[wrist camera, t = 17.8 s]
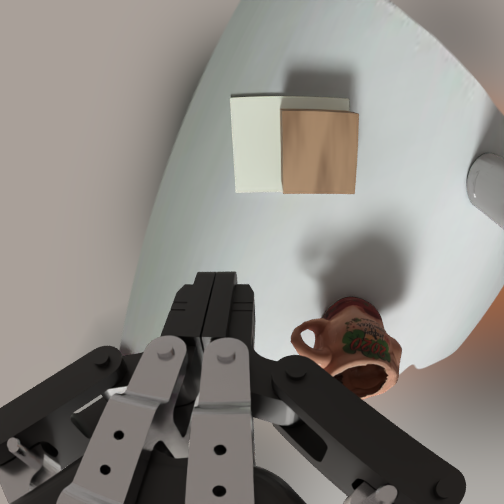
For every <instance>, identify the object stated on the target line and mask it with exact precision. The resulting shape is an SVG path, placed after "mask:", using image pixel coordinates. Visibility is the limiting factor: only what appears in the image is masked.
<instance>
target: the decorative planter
mask: <svg viewBox="0 0 504 504" xmlns="http://www.w3.org/2000/svg"><path fill="white" fill-rule="evenodd" d="M306 329H309V330H311V331H313V332H314V334H315V344H314V348H311V347H309V346H308V345H307V344H306V343H304V341H303V340H302V337H301V332H302V331H304V330H306ZM291 343H292V344H293V346H294V347H295V349H296V351H297V352H298V354H299V355H301V356H305V357H308V358H310V359H312V360H313V361H314V362H316V363H317V364H318V365H319V366H320V367H322V368H323V369H324V370H325V371H327V372H328V373H329V374H330V375H332V376H333V377H334V378H335V379H337V380H338V381H339V382H340V383H342V384H343V385H344V386H345V387H347V388H348V389H349V390H351V391H352V392H353V393H354V394H356V395H357V396H358V397H359V398H361V399H362V400H363V399H366V398H368V397H372V396H376V395H380V394H382V393H384V392H386V391H387V390H389V389H390V388H391V387H393V386H394V385H395V384H396V383H397V381H398V377H399V364H400V358H401V354H402V348H401V346H400V344H399V343H398V342H397V341H396V340H395V339H394V338H392V337H390V336H389V335H388V334H387V333H386V331H385V329H384V326H383V322H382V319H381V316H380V314H379V312H378V311H377V309H376V308H375V307H374V306H373V305H372V304H370V303H369V302H367V301H365V300H363V299H360V298H356V297H346V298H343V299H341V300H339V301H337V302H336V303H335V304H334V305H332V306H331V307H330V308H329V309H328V310H327V311H326V313H325V315H324V316H323V318H320V319H312V320H309V321H306V322H304V323H303V324H301V325H299V326H298V327H296V328H295V329H294V331H293V333H292V335H291Z"/></svg>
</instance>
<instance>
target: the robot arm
mask: <svg viewBox="0 0 504 504" xmlns="http://www.w3.org/2000/svg"><path fill="white" fill-rule="evenodd" d="M467 193H468V197H469V199H470V201H471V203H472V204H473V205H474V206H475V207H476V208H478V209H479V210H480V211H482V212H483V213H484V214H485V215H487V216H488V217H489V218H490V219H491V220H493V221H494V222H495V223H496V224H498V225H499V226H500V227H501V228H503V229H504V158H502V157H500V156H498V155H495V154H492V153H486V154H483V155H481V156H480V157H479V158H477V160H476V161H475V162H474V163H473V165H472V167H471V169H470V171H469V174H468V179H467ZM254 339H255V304H254V292H253V290H252V289H251V287H250V285H249V284H237V274H236V272H198V273H197V275H196V278H195V281H194V284H193V285H191V284H185V285H184V286H183V287H182V288H181V289H180V290H179V291H178V292H177V293H176V296H175V299H174V301H173V304H172V306H171V311H170V312H169V314H168V317H167V320H166V323H165V325H164V328H163V331H162V333H161V336H160V337H158V338H156V339H154V340H152V341H151V342H150V343H149V344H148V345H147V347H146V348H145V351H144V352H142V353H138V354H132V355H126V356H122V355H121V353H120V351H119V350H118V349H117V348H115V347H112V346H102V347H99V348H96V349H94V350H93V351H91V352H89V353H88V354H86V355H85V356H83V357H81V358H80V359H78V360H77V361H75V362H73V363H72V364H70V365H69V366H67V367H65V368H64V369H62V370H61V371H59V372H57V373H56V374H54V375H53V376H51V377H49V378H48V379H46V380H45V381H43V382H41V383H40V384H38V385H37V386H35V387H33V388H32V389H30V390H28V391H27V392H25V393H24V394H22V395H21V396H19V397H17V398H16V399H14V400H12V401H11V402H9V403H8V404H6V405H4V406H3V407H1V408H0V484H1V487H2V489H3V492H4V494H5V496H6V498H7V501H8V503H9V504H306V503H305V502H304V501H303V499H301V497H299V495H298V494H297V493H296V492H295V491H294V490H293V489H292V488H291V487H290V486H289V485H288V484H287V483H286V482H285V481H284V480H283V479H281V478H280V477H279V476H277V475H275V474H274V473H272V472H270V471H268V470H266V469H264V468H261V467H258V466H256V459H255V443H254V423H253V417H255V418H258V419H261V420H264V421H268V422H271V423H272V424H273V426H274V427H275V428H276V429H277V430H278V431H279V432H280V434H282V436H284V438H285V439H286V440H287V441H288V442H289V443H290V444H291V445H292V446H294V447H295V448H296V449H297V450H298V451H299V452H300V453H301V454H302V455H303V456H304V457H305V458H306V459H307V460H308V461H309V462H310V463H311V464H312V465H313V466H314V467H315V468H317V469H318V470H319V471H320V472H321V473H322V474H323V475H324V476H325V477H326V478H328V479H329V480H330V481H331V482H332V483H333V484H334V485H335V486H337V487H338V488H339V489H340V490H342V492H344V493H345V494H346V495H347V496H348V497H347V498H346V499H345V501H344V503H343V504H460V502H461V501H462V499H463V497H464V494H465V491H466V482H465V478H464V476H463V474H462V473H461V472H460V471H459V470H458V469H456V468H455V467H453V466H452V465H451V464H449V463H448V462H446V461H445V460H443V459H442V458H440V457H439V456H438V455H436V454H435V453H433V452H432V451H431V450H429V449H428V448H426V447H425V446H423V445H422V444H421V443H419V442H418V441H417V440H415V439H414V438H412V437H411V436H409V435H408V434H407V433H406V432H404V431H403V430H402V429H400V428H399V427H398V426H396V425H395V424H394V423H392V422H391V421H390V420H388V419H387V418H386V417H384V416H383V415H381V414H380V413H379V412H378V411H376V410H375V409H374V408H372V407H371V406H370V405H368V404H367V403H366V402H364V401H363V400H362V399H361V398H359V397H358V396H357V395H356V394H354V393H353V392H352V391H351V390H349V389H348V388H347V387H345V386H344V385H343V384H342V383H340V382H339V381H338V380H337V379H335V378H334V377H333V376H332V375H330V374H329V373H328V372H327V371H325V370H324V369H323V368H322V367H320V366H319V365H318V364H317V363H316V362H314V361H313V360H312V359H310V358H308V357H305V356H301V355H290V356H286V357H284V358H282V359H280V360H279V361H273V360H269V359H266V358H264V357H262V356H260V355H259V354H257V353H256V352H255V350H254ZM99 395H102V396H103V397H102V398H101V399H99V400H98V401H96V402H95V403H93V404H92V405H90V406H89V407H87V408H86V409H84V410H82V411H81V412H79V413H73V412H75V411H76V410H78V409H79V408H81V407H82V406H84V405H85V404H87V403H89V402H90V401H92V400H93V399H94V398H96V397H98V396H99ZM189 440H190V443H189ZM65 467H66V468H65ZM63 468H64V469H63ZM62 469H63V470H62Z"/></svg>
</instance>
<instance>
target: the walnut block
mask: <svg viewBox="0 0 504 504" xmlns="http://www.w3.org/2000/svg"><path fill="white" fill-rule="evenodd" d="M358 126H359V114H357V113H354V112H350V111H344V110H326V109H280V142H281V183H282V189H283V194H355V183H356V168H357V151H358Z"/></svg>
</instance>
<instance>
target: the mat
mask: <svg viewBox="0 0 504 504" xmlns="http://www.w3.org/2000/svg"><path fill="white" fill-rule="evenodd" d="M230 104H231V121H232V139H233V155H234V171H235V187H236V193H248V192H283V189H282V183H281V142H280V109H326V110H344V111H349V99H346V98H331V97H308V96H260V97H237V98H230Z"/></svg>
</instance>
